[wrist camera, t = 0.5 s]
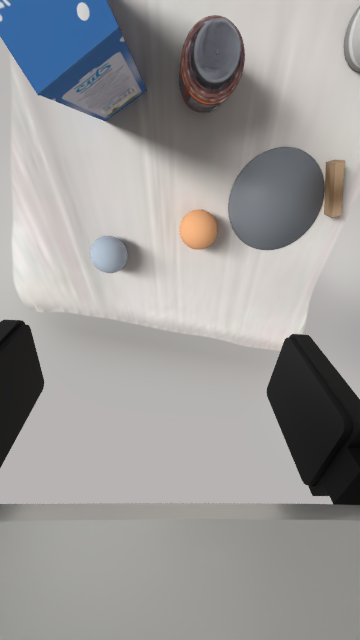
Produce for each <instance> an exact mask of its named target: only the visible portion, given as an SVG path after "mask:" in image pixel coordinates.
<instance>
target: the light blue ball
mask: <svg viewBox="0 0 360 640" xmlns="http://www.w3.org/2000/svg"><path fill="white" fill-rule="evenodd" d="M90 258H91V261H92V263H93V264H94V266H95V267H96V268H97V269H99V270H100V271H102V272H105V273H115V272H117V271H119V270H121V269H122V268H123V267H124V265H125V264H126V261H127V250H126V247H125V246H124V244H123V243H122V242H121V241H120V240H119V239H117V238H115V237H112V236H103V237H100V238H98V239H97V240H96V241H95V242H94V243H93V244H92V246H91V249H90Z"/></svg>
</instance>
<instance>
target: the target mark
mask: <svg viewBox="0 0 360 640" xmlns="http://www.w3.org/2000/svg"><path fill="white" fill-rule="evenodd" d="M323 198H324V179H323V175H322V172H321V169H320V167H319V165H318V164H317V162H316V161H315V160H314V159H313V158H312V157H311V156H310V155H309V154H307V153H306V152H304V151H302V150H300V149H296V148H291V147H281V148H275V149H271V150H269V151H266V152H264V153H262V154H260V155H259V156H257V157H256V158H254V159H253V160H252V161H251V162H250V163H249V164H247V165H246V167H245V168H244V169H243V170H242V171H241V173H240V174H239V176H238V177H237V179H236V181H235V183H234V185H233V188H232V190H231V194H230V198H229V205H228V212H229V219H230V223H231V226H232V228H233V230H234V232H235V234H236V235H237V236H238V238H239V239H240V240H241V241H243V242H244V243H245V244H247V245H249V246H251V247H253V248H256V249H261V250H273V249H278V248H281V247H284V246H286V245H289V244H291V243H292V242H294V241H296V240H297V239H298V238H300V237H301V236H302V235H303V234H304V233H305V232H306V231H307V230H308V229H309V228H310V226H311V225H312V224H313V222H314V221H315V219H316V217H317V215H318V213H319V211H320V209H321V206H322V202H323Z"/></svg>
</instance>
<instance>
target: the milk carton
mask: <svg viewBox="0 0 360 640" xmlns="http://www.w3.org/2000/svg"><path fill="white" fill-rule="evenodd" d="M0 37H1V38H2V40H3V41H4V43H5V44H6V46H7V48H8V49H9V51H10V52H11V54H12V55H13V57H14V59H15V60H16V62H17V63H18V65H19V66H20V68H21V69H22V71H23V73H24V74H25V76H26V77H27V79H28V80H29V82H30V83H31V85H32V87H33V88H34V90H35V91H36V93H37V94H38V95H41V96H44V97H46V98H49V99H51V100H54V101H56V102H59V103H61V104H64V105H66V106H69V107H71V108H74V109H76V110H78V111H81V112H83V113H86V114H88V115H91V116H93V117H96V118H98V119H101V120H103V121H106V120H108V119H109V118H110V117H112V116H113V115H114V114H116V113H117V112H118V111H120V110H121V109H123V108H124V107H125V106H127V105H128V104H129V103H131V102H132V101H134V100H135V99H136V98H138V97H139V96H140V95H142V94H143V93H145V92H146V91H147V90H146V88H145V86H144V83H143V81H142V79H141V76H140V74H139V72H138V70H137V67H136V65H135V63H134V61H133V58H132V56H131V54H130V51H129V49H128V47H127V45H126V42H125V40H124V38H123V36H122V33H121V31H120V29H119V26H118V24H117V22H116V20H115V18H114V16H113V13H112V11H111V9H110V7H109V5H108V2H107V0H0Z"/></svg>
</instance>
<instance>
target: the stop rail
mask: <svg viewBox="0 0 360 640" xmlns="http://www.w3.org/2000/svg"><path fill="white" fill-rule="evenodd" d="M344 170H345V160H333V161H329V162H326V179H325V205H324V214H325V215H328V216H330V217H332V218H333V217H337V216H341V210H342V197H343V183H344Z"/></svg>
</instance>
